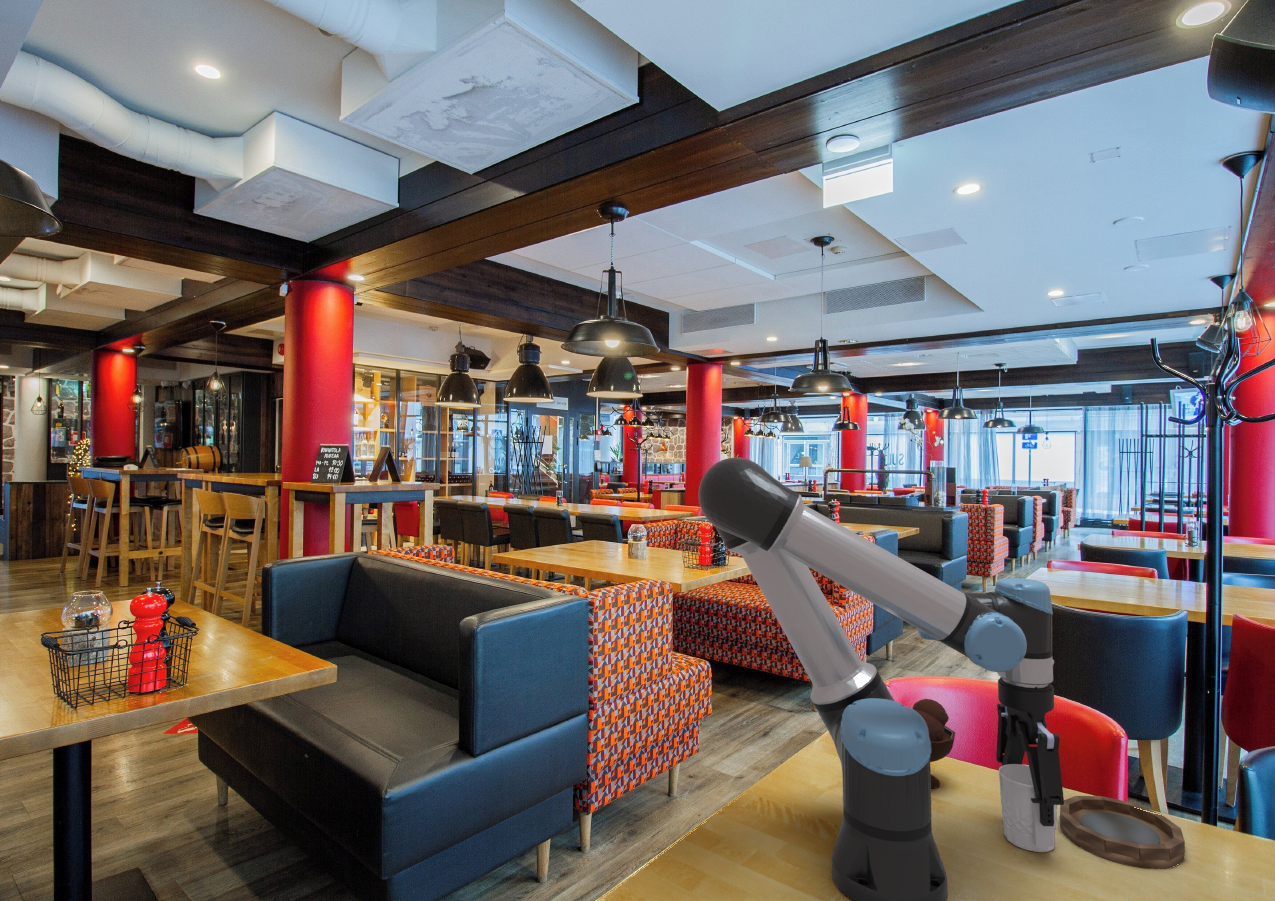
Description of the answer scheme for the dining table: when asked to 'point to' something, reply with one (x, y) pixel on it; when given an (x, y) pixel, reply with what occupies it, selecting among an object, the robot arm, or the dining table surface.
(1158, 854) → the tray
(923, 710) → the ice cream bowl
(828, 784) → the dining table surface
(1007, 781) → the white cup
